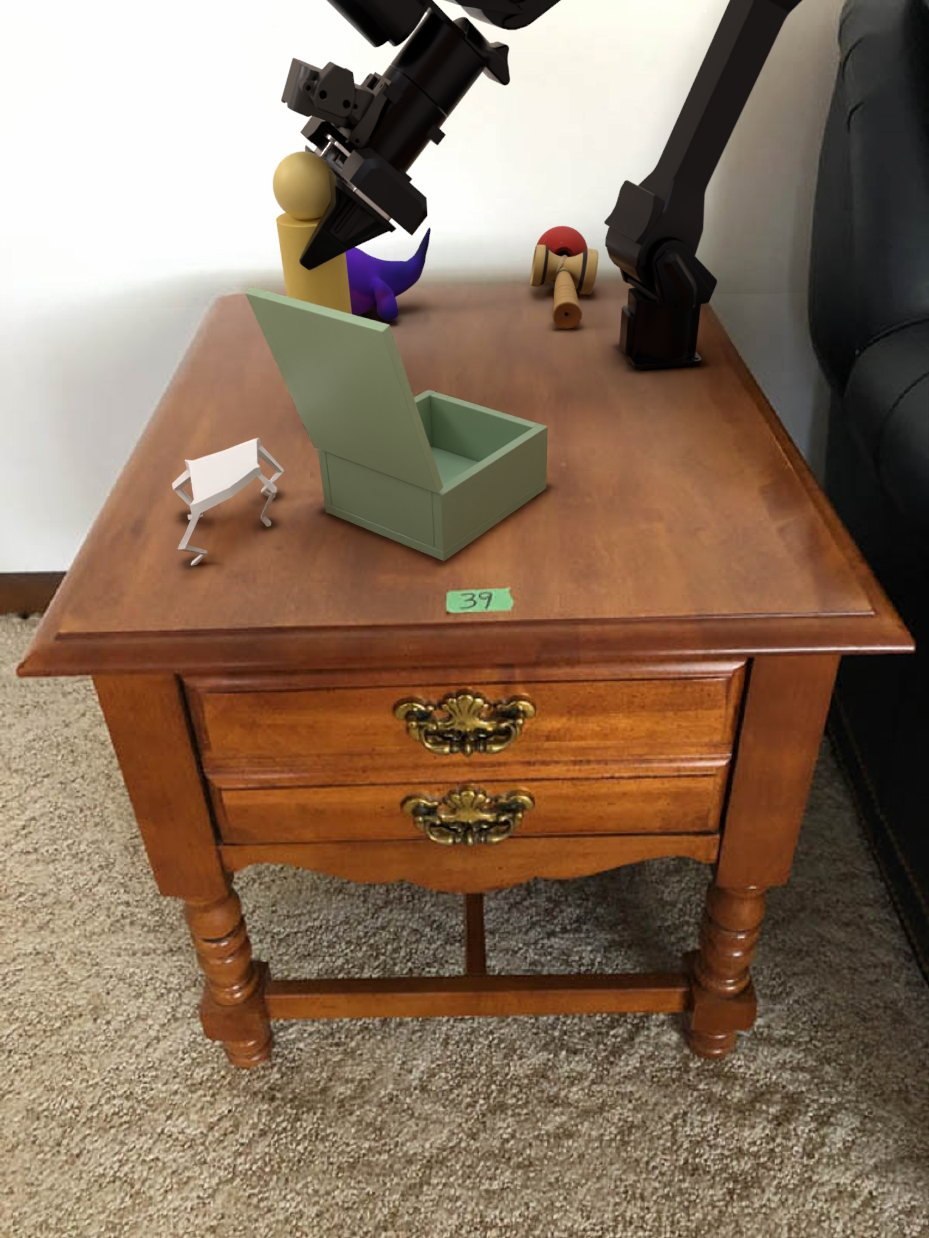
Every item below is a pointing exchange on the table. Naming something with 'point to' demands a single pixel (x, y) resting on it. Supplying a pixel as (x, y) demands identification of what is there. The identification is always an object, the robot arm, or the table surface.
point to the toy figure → (307, 231)
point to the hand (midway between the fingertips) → (296, 256)
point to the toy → (382, 280)
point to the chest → (445, 478)
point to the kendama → (565, 271)
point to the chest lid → (348, 386)
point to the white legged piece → (223, 482)
